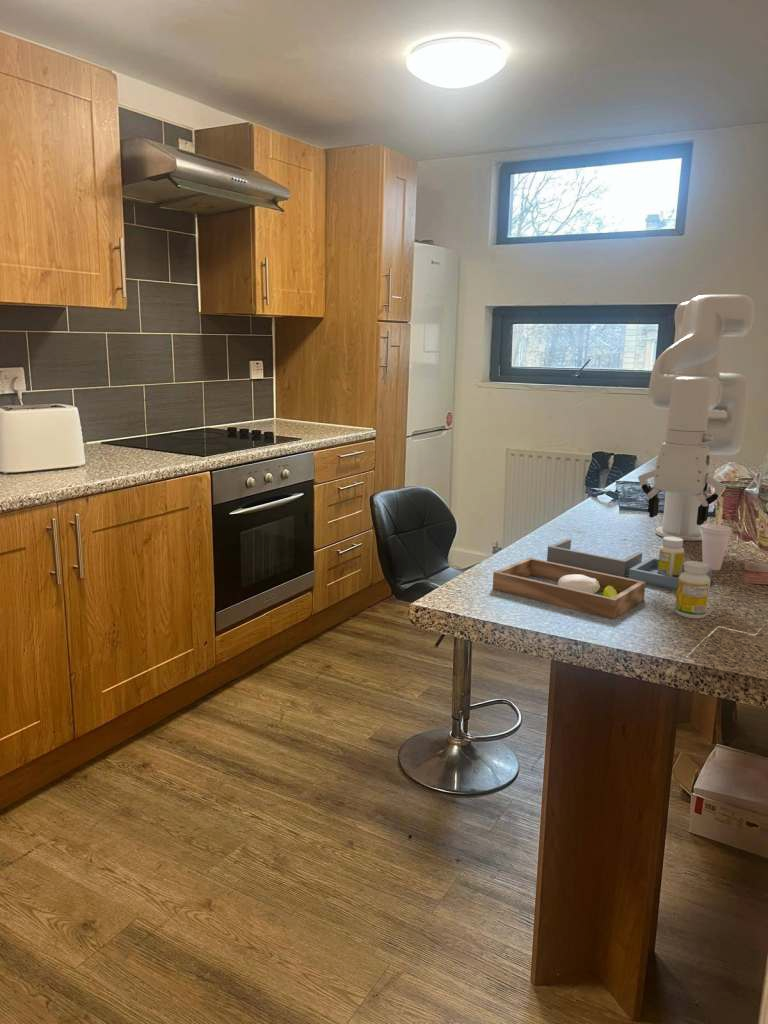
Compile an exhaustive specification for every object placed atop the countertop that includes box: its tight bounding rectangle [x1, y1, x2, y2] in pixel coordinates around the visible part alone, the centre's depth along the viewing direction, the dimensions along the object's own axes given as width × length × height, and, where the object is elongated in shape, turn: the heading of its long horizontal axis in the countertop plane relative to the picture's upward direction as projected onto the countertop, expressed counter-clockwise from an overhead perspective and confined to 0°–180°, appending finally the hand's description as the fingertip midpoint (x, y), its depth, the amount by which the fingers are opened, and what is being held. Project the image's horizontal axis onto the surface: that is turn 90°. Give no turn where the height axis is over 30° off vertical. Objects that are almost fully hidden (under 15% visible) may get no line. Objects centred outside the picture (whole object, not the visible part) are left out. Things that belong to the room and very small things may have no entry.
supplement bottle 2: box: [674, 560, 711, 619], centre depth 134 cm, size 5×5×10 cm
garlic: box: [557, 574, 600, 594], centre depth 145 cm, size 8×7×4 cm
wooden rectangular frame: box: [492, 557, 647, 620], centre depth 144 cm, size 15×25×4 cm, turn 51°
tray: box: [627, 557, 713, 592], centre depth 155 cm, size 13×13×2 cm
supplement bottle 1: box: [658, 537, 685, 578], centre depth 155 cm, size 5×5×8 cm
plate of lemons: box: [597, 586, 639, 605], centre depth 141 cm, size 8×8×3 cm
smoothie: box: [701, 507, 733, 571], centre depth 164 cm, size 6×6×14 cm
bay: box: [546, 538, 643, 578], centre depth 165 cm, size 10×18×4 cm, turn 51°
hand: (676, 520), depth 153 cm, fingers open, 9 cm apart
